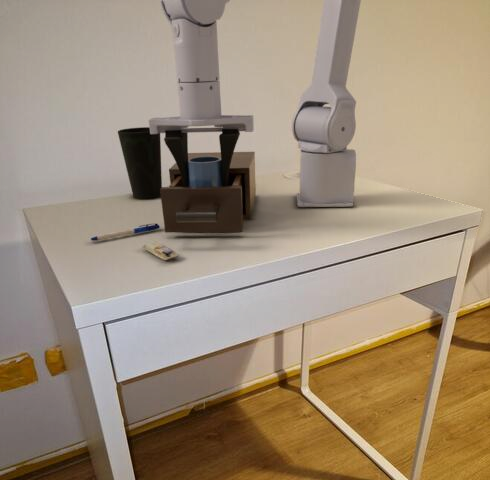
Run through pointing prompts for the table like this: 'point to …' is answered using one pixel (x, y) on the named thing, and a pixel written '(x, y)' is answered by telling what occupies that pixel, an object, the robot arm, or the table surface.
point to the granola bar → (160, 250)
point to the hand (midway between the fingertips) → (205, 184)
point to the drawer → (204, 206)
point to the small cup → (204, 171)
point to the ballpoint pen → (127, 232)
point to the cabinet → (239, 164)
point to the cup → (142, 161)
